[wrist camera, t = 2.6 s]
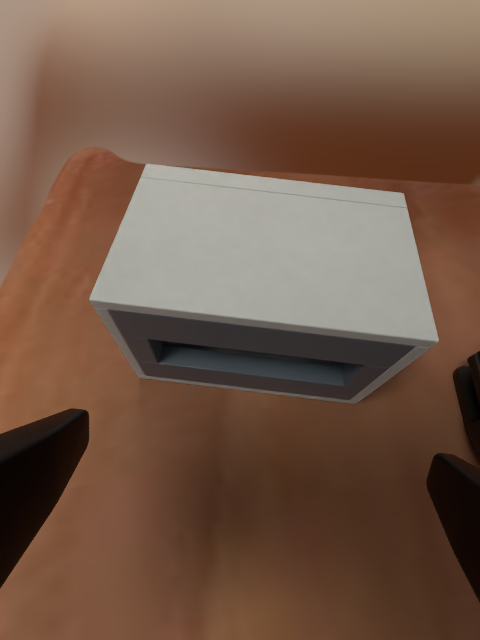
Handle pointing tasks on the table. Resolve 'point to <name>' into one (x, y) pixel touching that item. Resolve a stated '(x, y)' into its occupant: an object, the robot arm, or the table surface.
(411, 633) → the table surface
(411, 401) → the table surface
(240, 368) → the grey hollow block
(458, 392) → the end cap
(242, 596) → the table surface
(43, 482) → the robot arm
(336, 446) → the table surface
